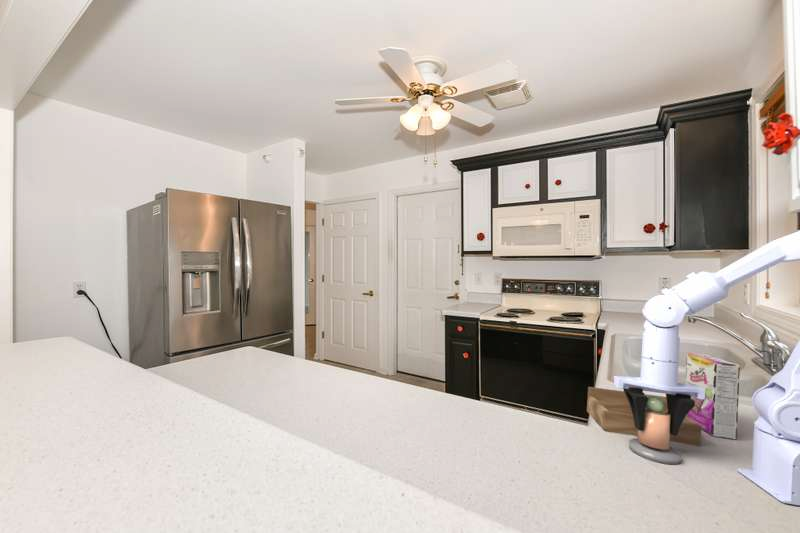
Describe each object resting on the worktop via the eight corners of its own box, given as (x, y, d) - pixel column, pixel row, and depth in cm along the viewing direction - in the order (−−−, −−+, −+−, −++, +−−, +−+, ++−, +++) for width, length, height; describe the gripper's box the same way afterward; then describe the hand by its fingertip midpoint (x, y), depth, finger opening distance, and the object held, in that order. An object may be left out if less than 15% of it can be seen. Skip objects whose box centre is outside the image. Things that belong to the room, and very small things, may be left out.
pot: (674, 451, 64) (675, 401, 65) (642, 445, 66) (644, 396, 67) (663, 441, 69) (664, 395, 70) (633, 436, 71) (635, 390, 71)
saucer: (691, 468, 62) (691, 462, 62) (640, 459, 64) (640, 454, 64) (666, 447, 70) (667, 442, 70) (622, 440, 72) (622, 435, 72)
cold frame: (700, 445, 72) (702, 416, 73) (604, 430, 76) (605, 402, 76) (669, 422, 84) (670, 397, 84) (586, 411, 88) (588, 386, 88)
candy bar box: (681, 417, 88) (685, 352, 89) (704, 421, 87) (708, 354, 88) (711, 437, 77) (715, 361, 78) (738, 441, 76) (742, 364, 77)
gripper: (690, 359, 70) (686, 428, 70) (609, 350, 73) (605, 417, 73) (714, 367, 63) (710, 444, 63) (624, 357, 66) (619, 431, 66)
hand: (655, 431), depth 67 cm, fingers closed on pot, 5 cm apart
